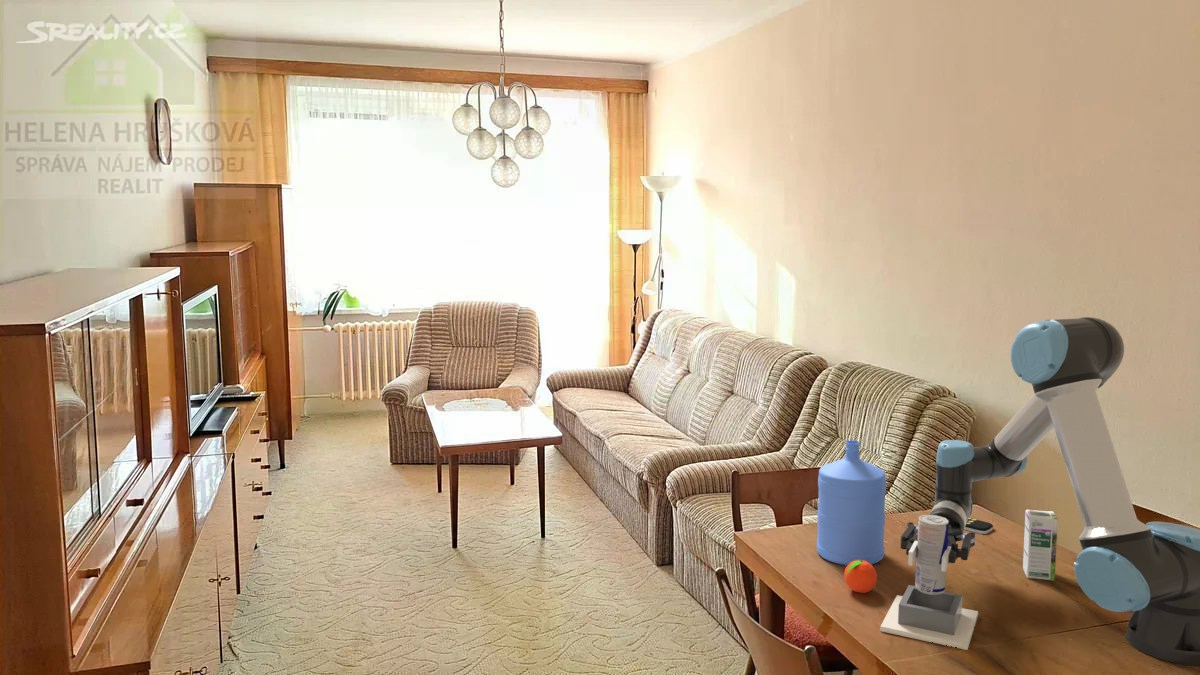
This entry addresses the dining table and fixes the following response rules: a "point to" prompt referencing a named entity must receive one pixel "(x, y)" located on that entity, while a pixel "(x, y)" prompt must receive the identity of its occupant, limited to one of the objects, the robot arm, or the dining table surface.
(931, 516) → the beverage can
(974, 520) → the remote control
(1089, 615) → the dining table surface
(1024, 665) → the dining table surface
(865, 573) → the clementine
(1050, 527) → the syrup box
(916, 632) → the can holder
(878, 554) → the water jug
